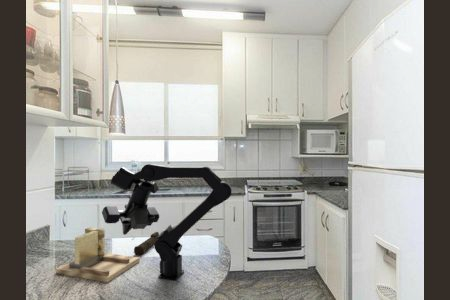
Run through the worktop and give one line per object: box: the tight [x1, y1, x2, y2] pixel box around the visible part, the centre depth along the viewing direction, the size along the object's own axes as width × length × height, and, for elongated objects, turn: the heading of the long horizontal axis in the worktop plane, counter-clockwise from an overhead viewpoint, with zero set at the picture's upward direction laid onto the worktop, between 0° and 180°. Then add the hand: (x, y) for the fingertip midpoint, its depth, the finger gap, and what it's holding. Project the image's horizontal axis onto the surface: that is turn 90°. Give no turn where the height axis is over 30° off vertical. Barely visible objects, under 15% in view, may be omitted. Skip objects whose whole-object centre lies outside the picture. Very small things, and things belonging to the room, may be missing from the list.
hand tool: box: [133, 231, 160, 256], centre depth 107 cm, size 19×4×5 cm, turn 168°
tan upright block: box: [68, 231, 106, 269], centre depth 89 cm, size 7×12×10 cm, turn 163°
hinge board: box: [55, 227, 141, 283], centre depth 88 cm, size 22×16×12 cm
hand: (124, 233), depth 86 cm, fingers closed
